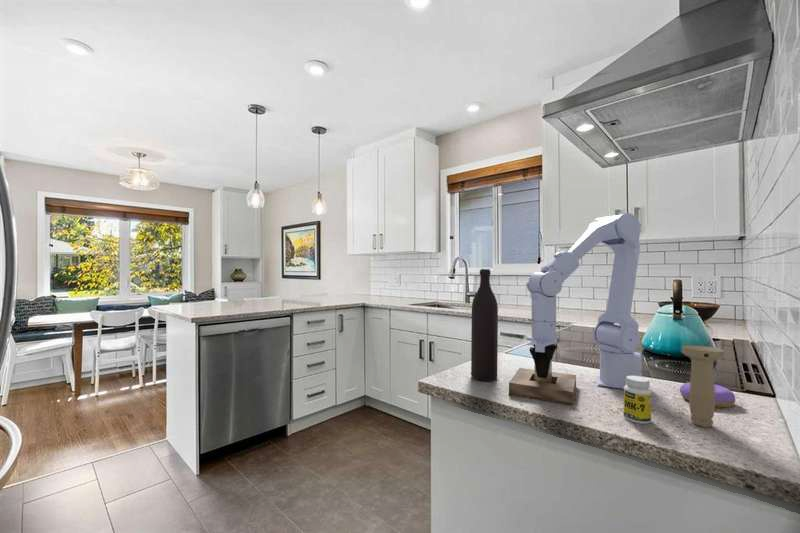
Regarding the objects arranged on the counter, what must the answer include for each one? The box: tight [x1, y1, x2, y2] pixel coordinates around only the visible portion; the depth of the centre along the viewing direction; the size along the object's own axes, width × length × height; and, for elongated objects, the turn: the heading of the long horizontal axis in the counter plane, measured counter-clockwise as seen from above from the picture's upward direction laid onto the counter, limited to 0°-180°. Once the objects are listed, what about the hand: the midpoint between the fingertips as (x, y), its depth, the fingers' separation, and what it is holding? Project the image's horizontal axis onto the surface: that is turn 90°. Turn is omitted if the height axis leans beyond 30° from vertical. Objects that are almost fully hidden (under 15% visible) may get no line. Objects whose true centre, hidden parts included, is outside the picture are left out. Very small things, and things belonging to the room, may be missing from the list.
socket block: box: [508, 367, 577, 406], centre depth 93 cm, size 14×14×3 cm
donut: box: [679, 381, 736, 408], centre depth 86 cm, size 10×9×5 cm
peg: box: [534, 358, 553, 384], centre depth 93 cm, size 4×4×6 cm
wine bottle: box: [470, 268, 499, 382], centre depth 103 cm, size 7×7×30 cm
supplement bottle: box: [622, 376, 653, 425], centre depth 76 cm, size 5×5×8 cm
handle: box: [681, 345, 725, 428], centre depth 74 cm, size 5×6×15 cm
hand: (543, 375), depth 93 cm, fingers closed on peg, 4 cm apart
